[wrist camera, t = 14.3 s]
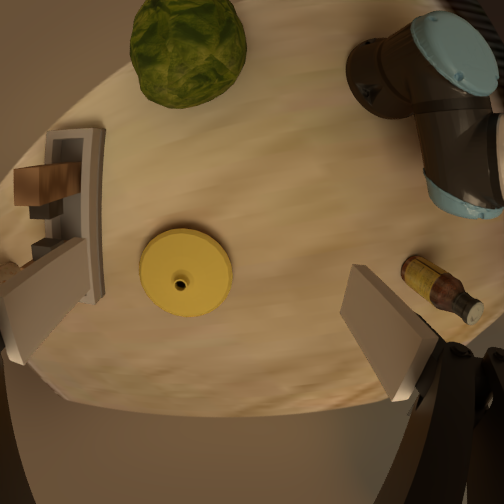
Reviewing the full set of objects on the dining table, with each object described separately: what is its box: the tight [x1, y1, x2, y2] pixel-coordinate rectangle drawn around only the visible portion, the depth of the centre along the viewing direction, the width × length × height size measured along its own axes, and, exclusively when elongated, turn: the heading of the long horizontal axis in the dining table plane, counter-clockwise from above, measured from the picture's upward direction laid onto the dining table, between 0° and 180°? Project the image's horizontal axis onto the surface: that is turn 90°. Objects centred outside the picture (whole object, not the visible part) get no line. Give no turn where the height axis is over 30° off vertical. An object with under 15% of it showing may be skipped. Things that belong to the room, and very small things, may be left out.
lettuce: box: [130, 0, 247, 109], centre depth 33 cm, size 16×21×15 cm
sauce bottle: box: [401, 256, 484, 325], centre depth 43 cm, size 6×6×20 cm
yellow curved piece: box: [139, 228, 233, 317], centre depth 47 cm, size 16×16×7 cm
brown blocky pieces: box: [20, 128, 106, 305], centre depth 39 cm, size 30×10×16 cm, turn 173°
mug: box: [0, 263, 20, 285], centre depth 45 cm, size 8×12×10 cm, turn 35°
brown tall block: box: [14, 162, 82, 220], centre depth 36 cm, size 8×5×14 cm, turn 174°
